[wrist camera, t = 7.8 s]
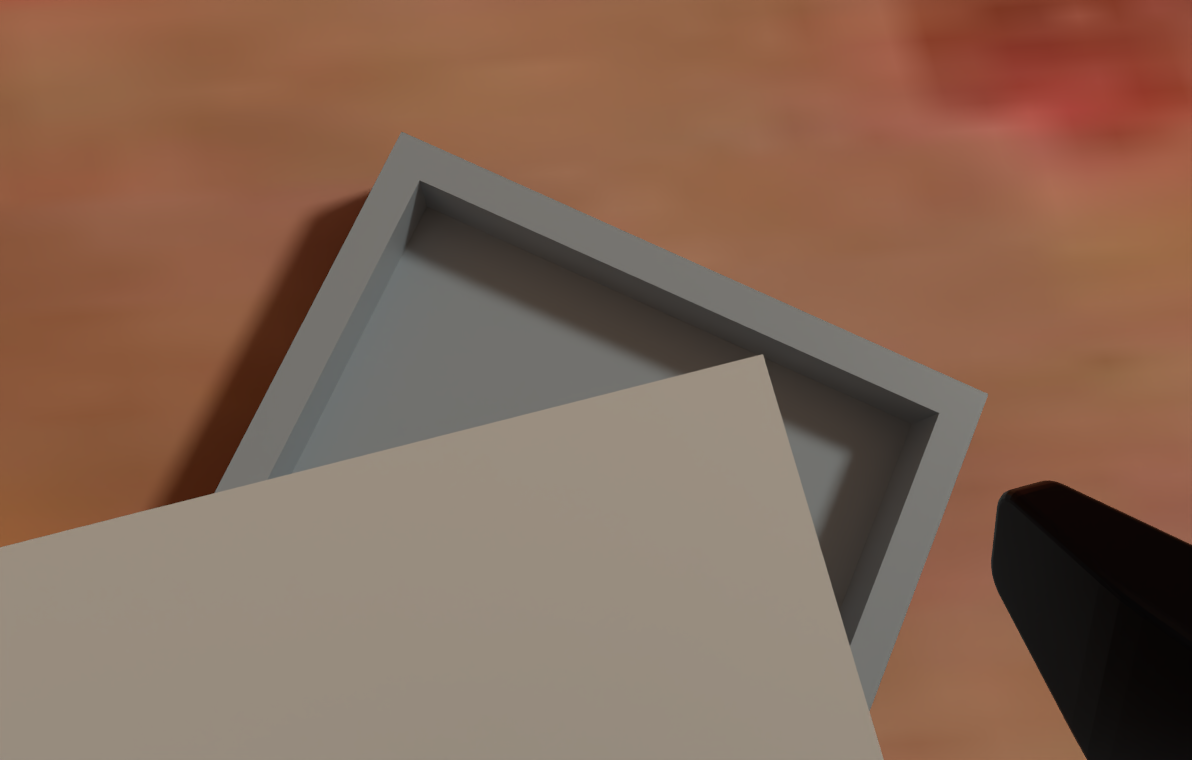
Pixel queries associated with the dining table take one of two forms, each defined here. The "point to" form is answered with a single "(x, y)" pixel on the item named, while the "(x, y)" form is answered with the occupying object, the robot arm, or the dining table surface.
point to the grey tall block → (457, 602)
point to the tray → (603, 365)
